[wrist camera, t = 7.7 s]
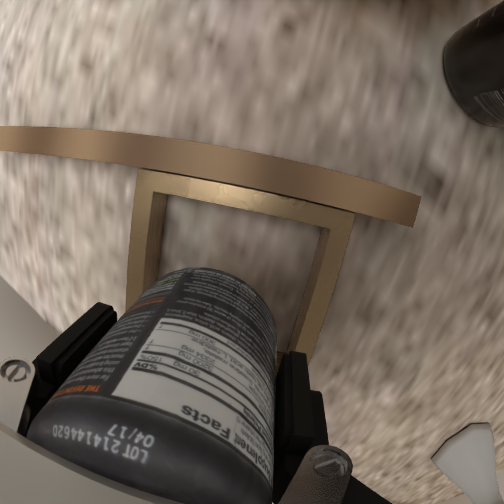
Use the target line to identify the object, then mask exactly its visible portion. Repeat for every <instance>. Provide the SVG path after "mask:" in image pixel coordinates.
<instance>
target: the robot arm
mask: <svg viewBox="0 0 504 504" xmlns="http://www.w3.org/2000/svg"><path fill="white" fill-rule="evenodd" d="M116 322H117V312H116V311H114V309H113V307H112V306H110V305H107V304H103V303H100V302H98V303H96V304H95V305H94V306H93V307H92V308H90V309H89V310H88V311H87V312H86V313H85V314H84V315H82V316H81V317H80V318H79V319H78V320H77V321H76V322H74V323H73V324H72V325H71V326H70V327H69V328H68V329H67V330H65V331H64V332H63V333H62V334H61V335H60V336H59V337H58V338H57V339H56V340H55V341H53V342H52V343H51V344H50V345H49V346H48V347H47V348H46V349H45V350H44V351H43V352H41V353H40V354H39V355H38V356H37V357H36V359H35V360H34V361H33V362H31V361H29V360H28V359H26V358H23V357H9V358H7V359H4V360H3V361H1V362H0V504H184V503H180V502H177V501H173V500H169V499H166V498H163V497H159V496H156V495H153V494H150V493H146V492H143V491H140V490H138V489H135V488H132V487H129V486H126V485H124V484H121V483H118V482H116V481H113V480H111V479H108V478H106V477H103V476H101V475H98V474H96V473H94V472H91V471H89V470H87V469H85V468H82V467H80V466H78V465H76V464H74V463H72V462H70V461H68V460H66V459H64V458H62V457H60V456H58V455H56V454H54V453H52V452H50V451H48V450H46V449H44V448H43V447H41V446H39V445H37V444H35V443H34V442H32V441H30V440H29V439H27V438H26V437H27V433H28V430H29V428H30V425H31V423H32V421H33V419H34V418H35V417H36V416H37V414H38V413H39V412H40V411H41V409H42V408H43V407H44V406H45V405H46V404H47V402H48V401H49V400H50V399H51V397H52V396H53V395H54V394H55V392H56V391H57V390H58V389H59V388H60V387H61V385H62V384H63V383H64V382H65V381H66V379H67V378H68V377H69V376H70V375H71V374H72V372H73V371H74V370H75V369H76V368H77V366H78V365H79V364H80V363H81V362H82V361H83V360H84V359H85V357H86V356H87V355H88V353H89V352H90V351H91V350H92V349H93V348H94V347H95V346H96V345H97V344H98V343H99V341H100V340H101V339H102V338H103V337H104V336H105V335H106V333H107V332H108V331H109V330H110V329H111V328H112V327H113V325H114V324H115V323H116ZM352 469H353V464H352V461H351V459H350V457H349V456H348V454H346V453H345V452H344V451H343V450H341V449H339V448H337V447H334V446H330V445H329V441H328V433H327V426H326V419H325V411H324V404H323V397H322V393H321V392H320V391H313V390H310V382H309V373H308V364H307V355H306V353H302V352H296V351H290V352H289V354H285V353H284V354H283V357H282V360H281V363H280V366H279V369H278V372H277V375H276V404H275V438H274V465H273V491H272V502H273V503H274V504H392V503H390V502H389V501H387V500H386V499H384V498H383V497H381V496H380V495H379V494H377V493H376V492H374V491H373V490H371V489H370V488H368V487H367V486H366V485H364V484H363V483H361V482H360V481H359V480H357V479H356V478H354V477H353V476H352V475H351V473H352Z"/></svg>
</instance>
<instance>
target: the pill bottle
mask: <svg viewBox="0 0 504 504" xmlns="http://www.w3.org/2000/svg"><path fill="white" fill-rule="evenodd" d="M276 346H277V335H276V326H275V322H274V319H273V316H272V314H271V312H270V310H269V308H268V306H267V304H266V303H265V302H264V300H263V299H262V298H261V297H260V296H259V295H258V294H257V292H256V291H255V290H254V289H252V288H251V287H250V286H249V285H248V284H247V283H245V282H244V281H242V280H240V279H239V278H237V277H235V276H233V275H231V274H228V273H225V272H223V271H220V270H215V269H210V268H185V269H181V270H178V271H174V272H171V273H168V274H166V275H165V276H163V277H162V278H160V279H159V280H157V281H156V282H155V283H153V284H152V285H151V286H150V287H149V288H148V289H147V290H146V291H145V292H144V293H143V294H142V295H141V296H140V297H139V298H138V299H137V301H136V302H135V303H133V305H132V306H131V307H130V308H129V309H128V310H127V311H126V312H125V313H124V315H123V316H122V317H121V318H120V319H119V320H118V321H117V322H116V323H115V324H114V325H113V327H112V328H111V329H110V330H109V331H108V332H107V333H106V335H105V336H104V337H103V338H102V339H101V340H100V341H99V343H98V344H97V345H96V346H95V347H94V348H93V349H92V350H91V351H90V352H89V353H88V355H87V356H86V357H85V359H84V360H83V361H82V362H81V363H80V364H79V365H78V366H77V368H76V369H75V370H74V371H73V372H72V374H71V375H70V376H69V377H68V378H67V379H66V381H65V382H64V383H63V384H62V385H61V387H60V388H59V389H58V390H57V391H56V392H55V394H54V395H53V396H52V397H51V399H50V400H49V401H48V402H47V404H46V405H45V406H44V407H43V408H42V409H41V411H40V412H39V413H38V414H37V416H36V417H35V418H34V419H33V421H32V423H31V425H30V428H29V430H28V433H27V437H26V438H27V439H29V440H30V441H32V442H34V443H35V444H37V445H39V446H41V447H43V448H44V449H46V450H48V451H50V452H52V453H54V454H56V455H58V456H60V457H62V458H64V459H66V460H68V461H70V462H72V463H74V464H76V465H78V466H80V467H82V468H85V469H87V470H89V471H91V472H94V473H96V474H98V475H101V476H103V477H106V478H108V479H111V480H113V481H116V482H118V483H121V484H124V485H126V486H129V487H132V488H135V489H138V490H140V491H143V492H146V493H150V494H153V495H156V496H159V497H163V498H166V499H169V500H173V501H177V502H180V503H184V504H272V491H273V465H274V438H275V404H276Z"/></svg>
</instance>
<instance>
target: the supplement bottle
mask: <svg viewBox="0 0 504 504" xmlns="http://www.w3.org/2000/svg"><path fill="white" fill-rule="evenodd" d="M444 67H445V73H446V76H447V80H448V82H449V85H450V87H451V89H452V91H453V93H454V95H455V97H456V98H457V100H458V101H459V103H460V104H461V105H462V107H463V108H464V109H465V110H466V111H467V112H468V113H469V114H470V115H471V116H472V117H474V118H475V119H476V120H478V121H480V122H481V123H483V124H486V125H488V126H492V127H504V1H502V2H500V3H499V4H497V5H496V6H494V7H493V8H491V9H490V10H488V11H486V12H485V13H483V14H482V15H480V16H479V17H477V18H476V19H474V20H473V21H471V22H470V23H468V24H467V25H465V26H464V27H462V28H461V29H460V30H458V31H457V32H455V33H454V34H453V35H452V36H451V37H450V39H449V40H448V42H447V44H446V47H445V51H444Z"/></svg>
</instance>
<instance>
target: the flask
mask: <svg viewBox="0 0 504 504" xmlns="http://www.w3.org/2000/svg"><path fill="white" fill-rule="evenodd" d="M431 460H432V461H433V462H434V464H435V465H436V466H437V467H438V469H439V470H440V471H441V472H442V473H444V474H445V475H446V476H447V477H448V478H449V479H450V480H451V481H452V482H454V483H455V484H456V485H457V486H458V487H459V488H460V489H461V490H462V491H463V492H464V493H465V494H466V495H467V496H468V497H469V498H470V500H471V501H472V503H473V504H504V501H503V499H502V497H501V495H500V492H499V487H498V483H497V474H496V462H495V449H494V438H493V433H492V430H491V427H490V424H489V423H488V424H471V425H470V426H468V427H467V428H465V429H464V430H463V431H461V432H460V433H458V434H457V435H455V436H454V437H452V438H451V439H449V440H448V441H446V442H445V444H444V445H443V446H442V447H441V448H440V450H439V451H438V452H437V453H436V454H435V455H434V457H433V458H432V459H431Z"/></svg>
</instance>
